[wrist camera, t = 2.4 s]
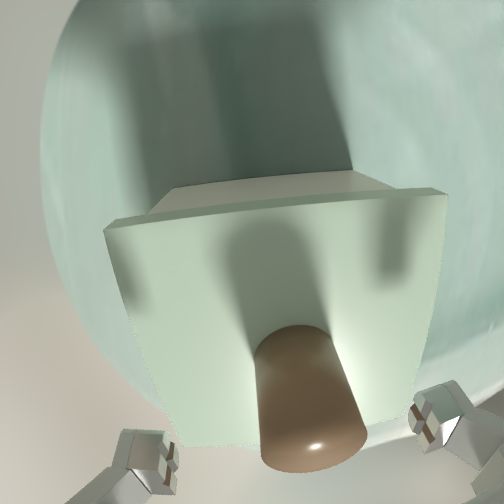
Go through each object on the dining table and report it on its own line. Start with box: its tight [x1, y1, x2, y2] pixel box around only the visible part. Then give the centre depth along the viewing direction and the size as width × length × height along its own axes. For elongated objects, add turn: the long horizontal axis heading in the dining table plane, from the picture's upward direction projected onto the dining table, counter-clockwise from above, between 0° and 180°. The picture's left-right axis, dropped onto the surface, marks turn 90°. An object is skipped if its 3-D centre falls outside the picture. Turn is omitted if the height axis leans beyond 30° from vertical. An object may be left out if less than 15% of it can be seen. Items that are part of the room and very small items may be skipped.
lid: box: [103, 188, 448, 473], centre depth 11 cm, size 12×12×7 cm
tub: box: [146, 170, 395, 215], centre depth 17 cm, size 11×11×8 cm
